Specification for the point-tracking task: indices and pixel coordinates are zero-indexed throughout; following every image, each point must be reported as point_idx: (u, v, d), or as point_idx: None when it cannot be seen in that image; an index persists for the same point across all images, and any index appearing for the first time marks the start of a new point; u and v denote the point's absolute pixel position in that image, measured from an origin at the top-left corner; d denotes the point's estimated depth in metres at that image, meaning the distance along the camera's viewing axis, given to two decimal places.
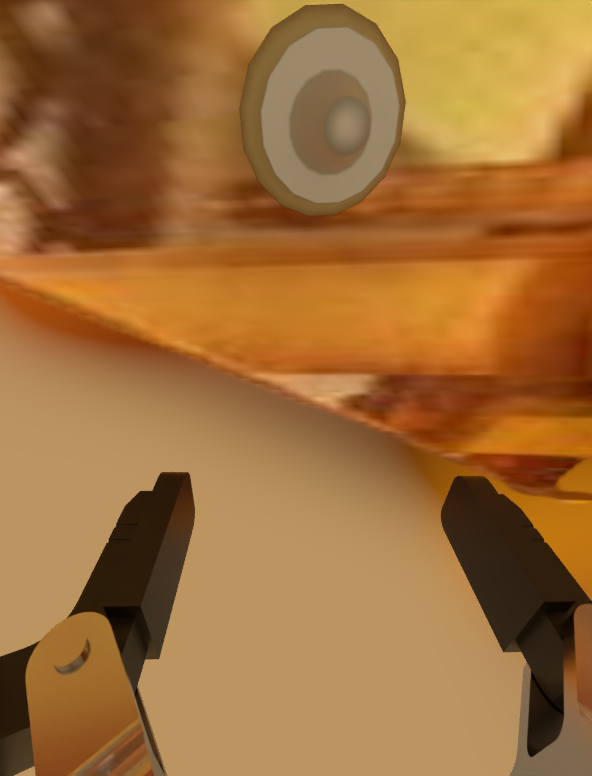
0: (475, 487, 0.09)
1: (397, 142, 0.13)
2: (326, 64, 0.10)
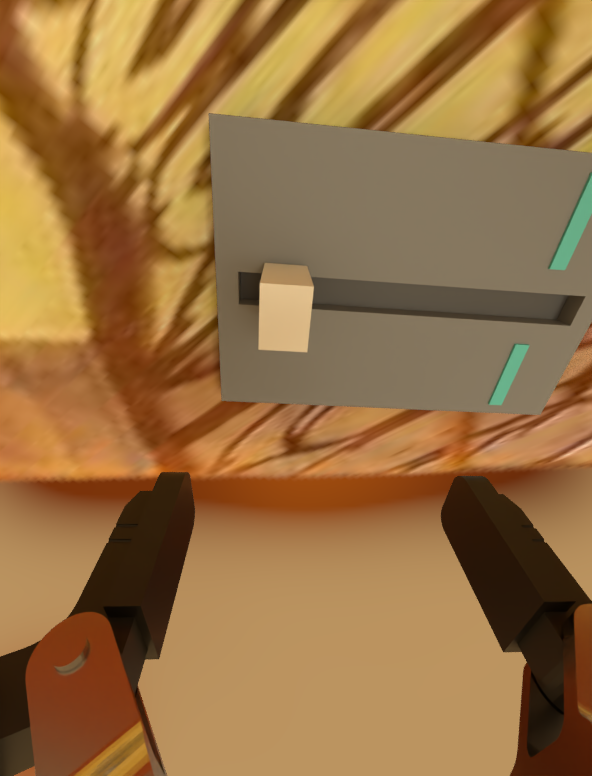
0: (475, 487, 0.09)
1: None
2: None
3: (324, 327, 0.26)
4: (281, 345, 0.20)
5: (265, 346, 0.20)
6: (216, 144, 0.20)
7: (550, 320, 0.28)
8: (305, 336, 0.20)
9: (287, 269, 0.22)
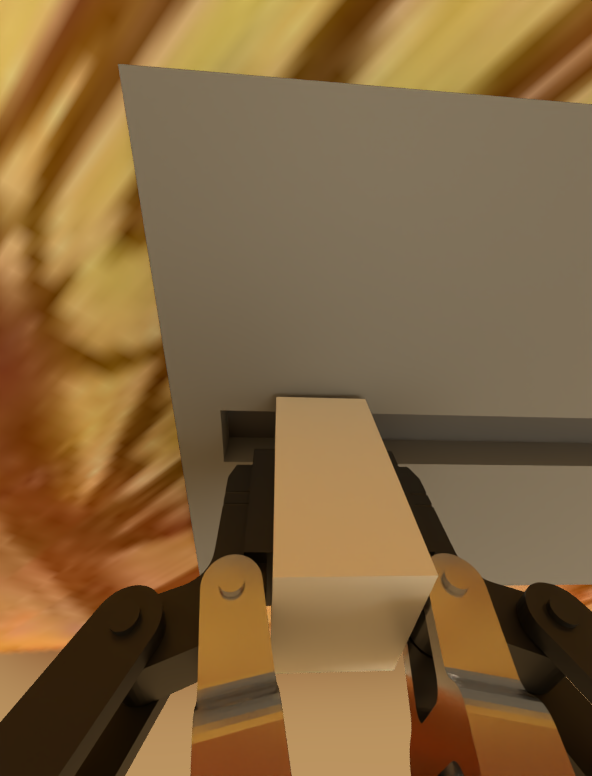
0: None
1: None
2: None
3: None
4: (329, 666, 0.08)
5: (288, 669, 0.08)
6: (148, 149, 0.08)
7: None
8: (393, 649, 0.08)
9: (330, 430, 0.10)
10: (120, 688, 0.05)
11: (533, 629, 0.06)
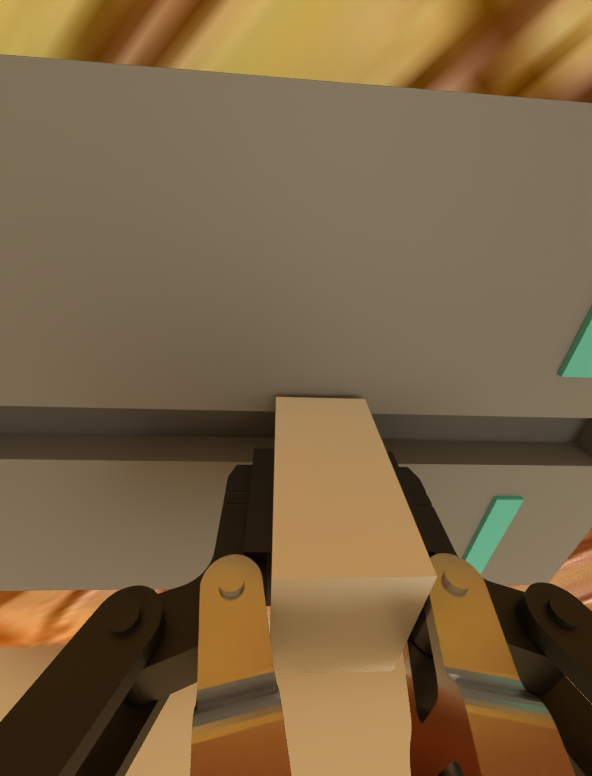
0: None
1: None
2: None
3: (111, 486, 0.13)
4: (328, 666, 0.08)
5: (287, 669, 0.08)
6: None
7: (562, 448, 0.15)
8: (393, 650, 0.08)
9: (330, 431, 0.10)
10: (120, 687, 0.05)
11: (533, 629, 0.06)
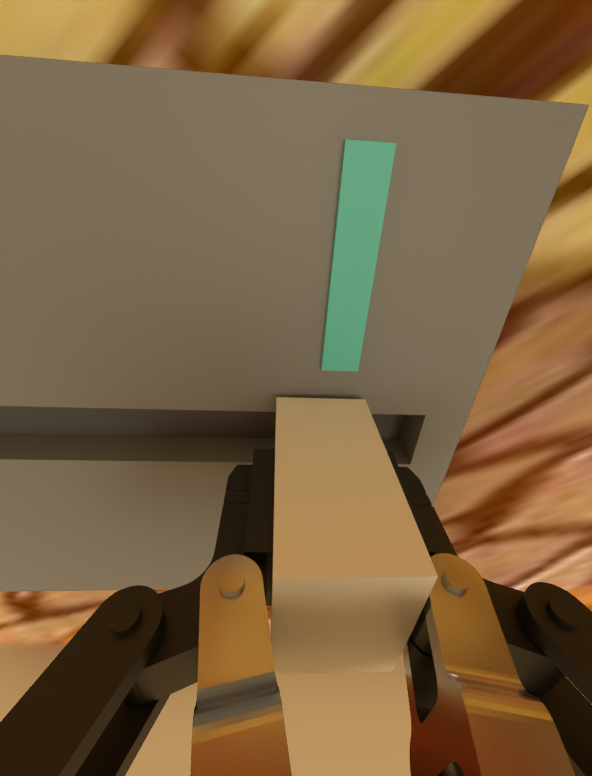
0: None
1: None
2: None
3: None
4: (329, 666, 0.08)
5: (287, 669, 0.08)
6: None
7: None
8: (393, 650, 0.08)
9: (330, 431, 0.10)
10: (121, 687, 0.05)
11: (533, 629, 0.06)
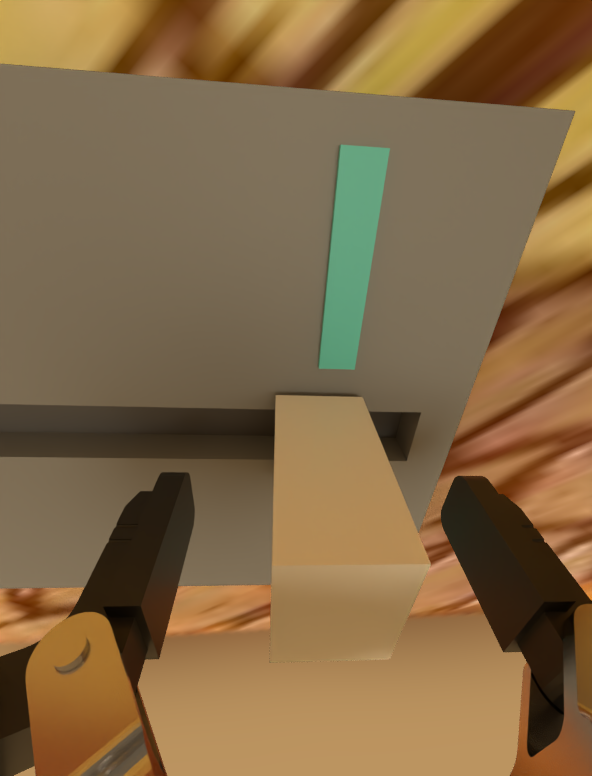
0: (475, 487, 0.09)
1: None
2: None
3: None
4: (327, 654, 0.08)
5: (287, 657, 0.08)
6: None
7: None
8: (389, 638, 0.08)
9: (328, 427, 0.10)
10: None
11: None
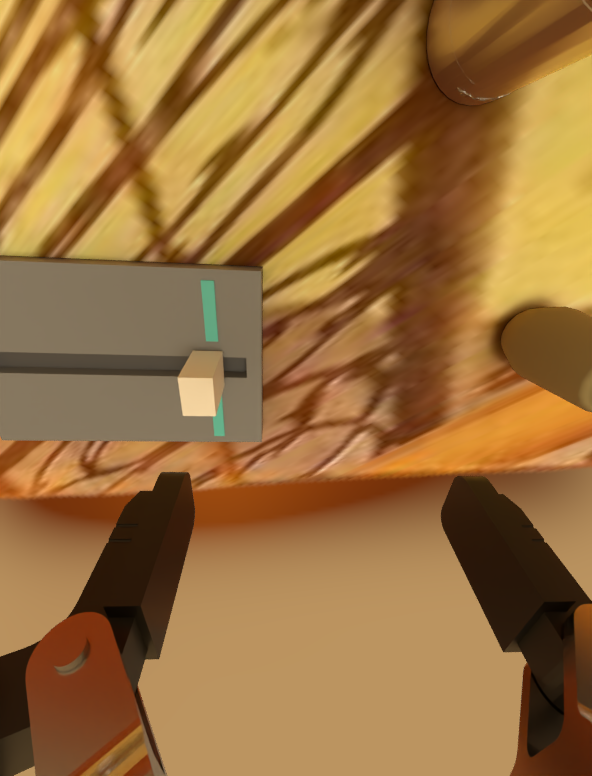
0: (475, 487, 0.09)
1: None
2: None
3: (58, 385, 0.35)
4: (197, 412, 0.30)
5: (187, 413, 0.30)
6: None
7: (239, 373, 0.37)
8: (212, 406, 0.30)
9: (205, 358, 0.32)
10: None
11: None
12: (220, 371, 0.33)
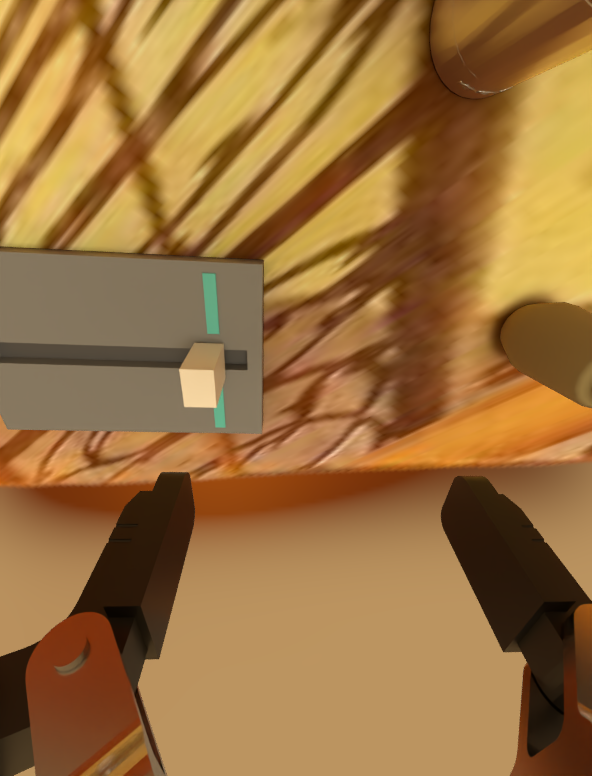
0: (475, 487, 0.09)
1: None
2: None
3: (62, 376, 0.36)
4: (198, 404, 0.31)
5: (188, 405, 0.31)
6: None
7: (239, 365, 0.37)
8: (213, 398, 0.31)
9: (206, 350, 0.33)
10: None
11: None
12: (221, 363, 0.33)
